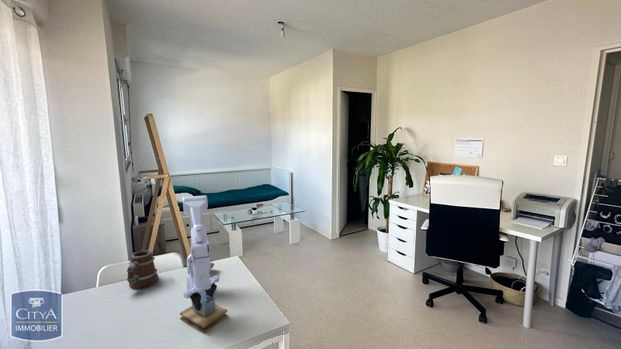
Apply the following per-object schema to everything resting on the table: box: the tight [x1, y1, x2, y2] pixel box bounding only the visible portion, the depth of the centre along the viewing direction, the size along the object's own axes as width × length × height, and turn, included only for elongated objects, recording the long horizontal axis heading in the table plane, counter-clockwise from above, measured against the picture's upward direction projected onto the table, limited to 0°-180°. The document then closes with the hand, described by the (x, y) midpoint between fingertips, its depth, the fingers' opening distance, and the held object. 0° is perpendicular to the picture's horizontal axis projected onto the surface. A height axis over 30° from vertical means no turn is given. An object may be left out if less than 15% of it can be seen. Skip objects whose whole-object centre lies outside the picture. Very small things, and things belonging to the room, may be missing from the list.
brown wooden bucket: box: [126, 249, 159, 290], centre depth 131 cm, size 16×12×15 cm
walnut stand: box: [179, 303, 229, 334], centre depth 108 cm, size 14×11×3 cm
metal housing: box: [191, 292, 216, 317], centre depth 108 cm, size 5×8×6 cm, turn 56°
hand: (203, 306), depth 108 cm, fingers closed on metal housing, 5 cm apart
